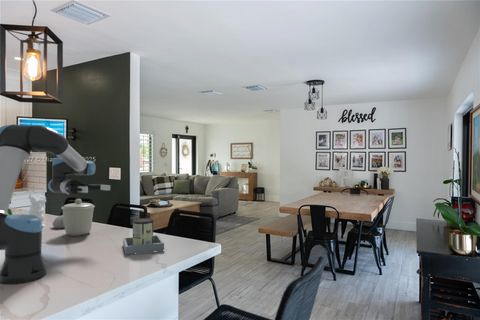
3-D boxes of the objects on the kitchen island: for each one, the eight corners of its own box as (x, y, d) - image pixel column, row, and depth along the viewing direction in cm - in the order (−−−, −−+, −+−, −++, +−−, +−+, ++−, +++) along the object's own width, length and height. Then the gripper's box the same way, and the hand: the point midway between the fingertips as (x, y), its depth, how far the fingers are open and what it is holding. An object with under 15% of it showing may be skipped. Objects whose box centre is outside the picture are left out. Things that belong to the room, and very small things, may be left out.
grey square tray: (164, 251, 160) (164, 243, 160) (125, 255, 153) (125, 246, 153) (158, 242, 176) (158, 235, 176) (123, 245, 169) (123, 237, 169)
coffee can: (139, 244, 171) (140, 217, 171) (157, 245, 168) (157, 218, 168) (127, 249, 161) (128, 221, 161) (146, 251, 158) (146, 222, 158)
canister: (101, 232, 198) (101, 198, 198) (74, 239, 182) (74, 201, 182) (81, 229, 206) (81, 196, 206) (54, 235, 190) (54, 199, 190)
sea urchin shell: (74, 228, 209) (74, 216, 209) (50, 229, 204) (50, 217, 204) (76, 224, 222) (76, 212, 222) (54, 225, 217) (54, 213, 217)
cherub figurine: (40, 224, 219) (41, 192, 220) (53, 226, 215) (54, 193, 215) (22, 228, 208) (23, 193, 208) (36, 229, 203) (37, 194, 204)
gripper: (91, 191, 186) (118, 194, 176) (48, 196, 163) (76, 198, 154) (91, 178, 185) (118, 180, 176) (48, 181, 163) (76, 183, 154)
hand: (98, 188), depth 165 cm, fingers open, 13 cm apart
